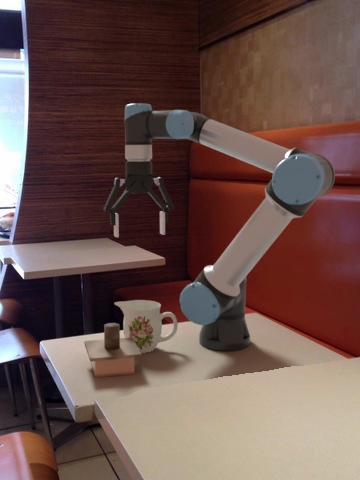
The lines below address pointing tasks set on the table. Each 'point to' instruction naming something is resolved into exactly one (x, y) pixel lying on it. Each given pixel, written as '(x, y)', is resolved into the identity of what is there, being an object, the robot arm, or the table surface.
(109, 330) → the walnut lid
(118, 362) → the terracotta dish
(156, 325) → the pitcher
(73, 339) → the table surface
